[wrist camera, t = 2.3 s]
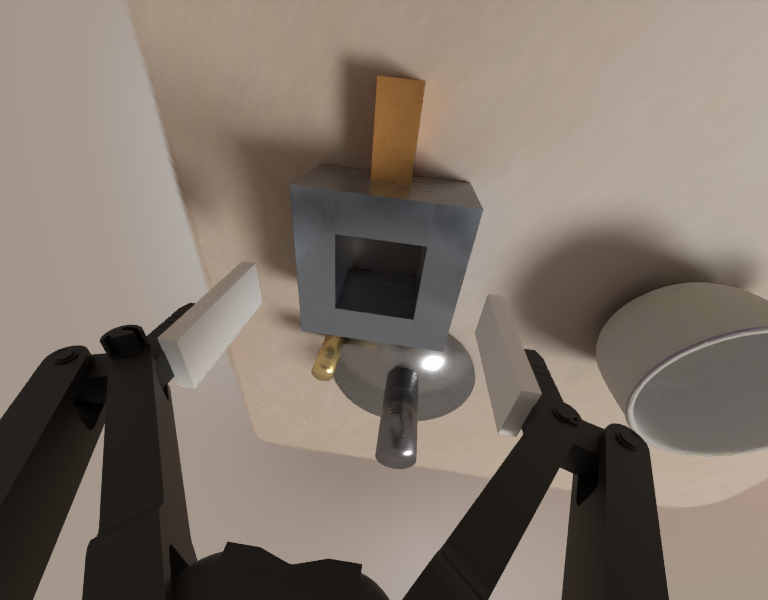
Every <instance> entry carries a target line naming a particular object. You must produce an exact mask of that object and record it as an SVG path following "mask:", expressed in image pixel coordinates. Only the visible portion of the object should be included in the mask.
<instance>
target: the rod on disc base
mask: <svg viewBox="0 0 768 600" xmlns="http://www.w3.org/2000/svg"><path fill="white" fill-rule="evenodd" d="M334 375H335V379H336V381H337V384H338V386H339V387H340V389H341V390H342V392H343V393H344V394H345V395H346V397H347V398H348V399H350V400H351V401H352V402H353V403H354V404H356V405H357V406H359V407H360V408H362V409H364V410H366V411H368V412H370V413H372V414H375V415H377V416H380V417H381V420H380V427H379V434H378V441H377V448H376V455H375V456H376V459H377V461H378V462H379V463H381V464H382V465H384V466H387V467H390V468H395V469H405V468H409V467H411V466H413V465H414V464H415V463H416V451H417V421H423V420H429V419H434V418H437V417H441V416H443V415H446V414H448V413H450V412H452V411H454V410H455V409H457V408H458V407H459V406H461V405H462V404H463V403H464V402H465V401H466V400H467V398H468V397H469V396H470V394H471V392H472V390H473V387H474V383H475V372H474V366H473V362H472V359H471V357H470V355H469V353H468V352H467V350H466V349H465V348H464V346H463V345H462V344H461V343H460V342H459V341H458V340H457V339H455V338H454V337H453V336H451V335H450V334H448V335H447V339H446V342H445V346H444V349H443V352H441V351H434V350H428V349H421V348H414V347H408V346H401V345H394V344H387V343H381V342H374V341H367V340H361V339H354V338H346V339H345V342H344V345H343V348H342V351H341V354H340V357H339V360H338V363H337V366H336V369H335V373H334Z"/></svg>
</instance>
